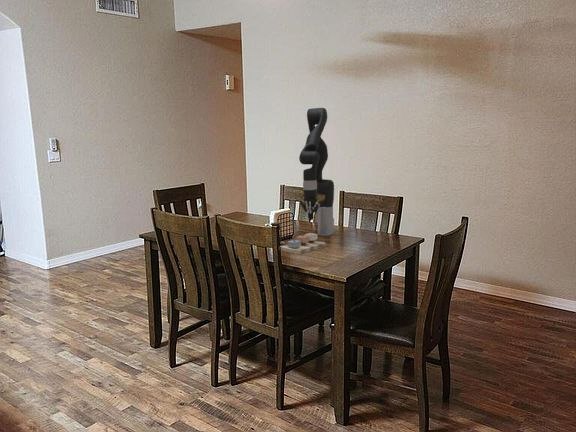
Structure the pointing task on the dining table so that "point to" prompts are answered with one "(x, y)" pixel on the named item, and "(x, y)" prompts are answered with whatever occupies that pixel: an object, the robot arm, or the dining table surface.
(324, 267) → the dining table surface
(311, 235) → the light grey square block
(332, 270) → the dining table surface
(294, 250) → the board
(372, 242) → the dining table surface
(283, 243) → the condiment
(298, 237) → the tile
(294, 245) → the grey block
